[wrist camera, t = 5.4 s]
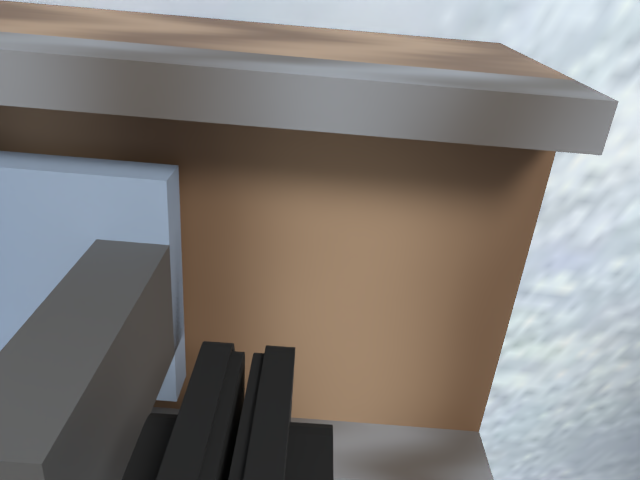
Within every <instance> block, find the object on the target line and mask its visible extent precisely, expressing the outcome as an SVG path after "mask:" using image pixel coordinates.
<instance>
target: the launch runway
mask: <svg viewBox="0 0 640 480" xmlns="http://www.w3.org/2000/svg"><path fill="white" fill-rule="evenodd" d="M617 104H618V101H616V100H614V99H612V98H610V97H608V96H606V95H604V94H602V93H600V92H598V91H596V90H594V89H592V88H590V87H588V86H586V85H584V84H582V83H580V82H578V81H576V80H574V79H572V78H570V77H568V76H566V75H564V74H562V73H560V72H558V71H555V70H553V69H551V68H549V67H547V66H545V65H543V64H541V63H539V62H537V61H535V60H533V59H531V58H529V57H527V56H525V55H523V54H521V53H519V52H517V51H515V50H513V49H511V48H509V47H507V46H505V45H503V44H501V43H491V42H479V41H468V40H456V39H444V38H432V37H421V36H409V35H397V34H386V33H374V32H362V31H351V30H339V29H327V28H315V27H304V26H292V25H280V24H269V23H257V22H245V21H234V20H222V19H210V18H198V17H187V16H175V15H163V14H152V13H140V12H128V11H116V10H105V9H93V8H81V7H70V6H58V5H46V4H35V3H23V2H11V1H0V151H10V152H22V153H34V154H46V155H59V156H71V157H83V158H95V159H108V160H120V161H132V162H144V163H157V164H169V165H178V167H179V194H180V222H181V250H182V277H183V305H184V333H185V360H186V377H185V380H184V383H183V386H182V388H181V391H180V394H179V397H178V400H177V402H175V401H162V400H156V401H155V404H154V406H153V409H152V411H151V413H161V414H176V415H178V413H179V410H180V407H181V404H182V401H183V398H184V395H185V392H186V389H187V386H188V383H189V380H190V377H191V374H192V371H193V368H194V365H195V362H196V359H197V356H198V354H199V351H200V348H201V345H202V343H203V342H204V341H209V342H224V343H234V347H235V351H238V352H245V393H246V388H247V382H248V377H249V372H250V367H251V362H252V357H253V353H265V347H266V345H269V346H284V347H295V364H294V379H293V395H292V411H291V422H299V423H315V424H330V425H333V478H334V480H493V476H492V473H491V470H490V466H489V463H488V460H487V457H486V453H485V450H484V447H483V444H482V440H481V437H480V434H479V429H480V426H481V422H482V418H483V415H484V411H485V407H486V404H487V400H488V396H489V393H490V389H491V385H492V382H493V378H494V375H495V371H496V367H497V364H498V360H499V356H500V353H501V349H502V345H503V342H504V338H505V335H506V331H507V327H508V324H509V320H510V316H511V313H512V309H513V305H514V302H515V298H516V295H517V291H518V287H519V284H520V280H521V276H522V273H523V269H524V265H525V262H526V258H527V255H528V251H529V247H530V244H531V240H532V236H533V233H534V229H535V225H536V222H537V218H538V215H539V211H540V207H541V204H542V200H543V196H544V193H545V189H546V185H547V182H548V178H549V175H550V171H551V167H552V164H553V160H554V156H555V153H556V151H558V152H570V153H582V154H594V155H602V152H603V149H604V146H605V143H606V139H607V136H608V133H609V130H610V127H611V124H612V120H613V117H614V114H615V111H616V108H617ZM244 398H245V396H244Z"/></svg>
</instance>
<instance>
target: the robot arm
mask: <svg viewBox="0 0 640 480" xmlns="http://www.w3.org/2000/svg"><path fill="white" fill-rule="evenodd" d="M294 364H295V347H284V346H269V345H266V347H265V353H253V357H252V362H251V367H250V372H249V377H248V382H247V388H246V393H245V352H238V351H235V347H234V343H224V342H209V341H204V342H203V343H202V345H201V348H200V351H199V354H198V356H197V359H196V362H195V365H194V368H193V371H192V374H191V377H190V380H189V383H188V386H187V389H186V392H185V395H184V398H183V401H182V404H181V407H180V410H179V413H178V415H176V414H161V413H150V415H149V416H148V417H147V419H146V421H145V423H144V425H143V428H142V430H141V433H140V435H139V438H138V440H137V443H136V445H135V448H134V450H133V453H132V455H131V457H130V460H129V462H128V465H127V467H126V470H125V472H124V475H123V477H122V480H334V478H333V425H330V424H315V423H299V422H291V411H292V395H293V379H294ZM244 396H245V398H244Z"/></svg>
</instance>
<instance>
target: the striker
mask: <svg viewBox="0 0 640 480" xmlns="http://www.w3.org/2000/svg"><path fill="white" fill-rule="evenodd" d="M185 377H186V360H185V333H184V305H183V277H182V250H181V222H180V194H179V167H178V165H169V164H157V163H144V162H132V161H120V160H108V159H95V158H83V157H71V156H59V155H46V154H34V153H22V152H10V151H0V480H122V477H123V475H124V472H125V470H126V467H127V465H128V462H129V460H130V457H131V455H132V453H133V450H134V448H135V445H136V443H137V440H138V438H139V435H140V433H141V430H142V428H143V425H144V423H145V421H146V419H147V417H148V416H149V415H150V413H151V411H152V409H153V406H154V404H155V401H156V400H162V401H175V402H177V400H178V397H179V394H180V391H181V388H182V386H183V383H184V380H185Z"/></svg>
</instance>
